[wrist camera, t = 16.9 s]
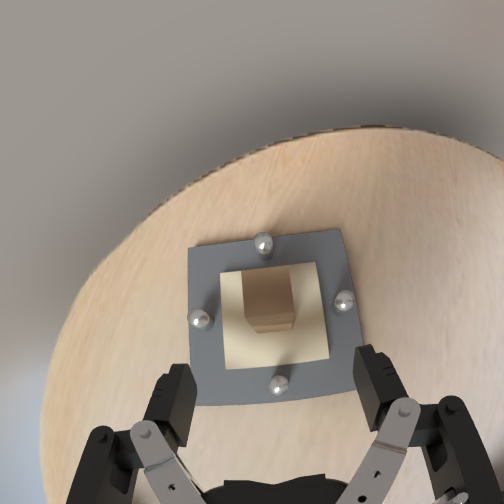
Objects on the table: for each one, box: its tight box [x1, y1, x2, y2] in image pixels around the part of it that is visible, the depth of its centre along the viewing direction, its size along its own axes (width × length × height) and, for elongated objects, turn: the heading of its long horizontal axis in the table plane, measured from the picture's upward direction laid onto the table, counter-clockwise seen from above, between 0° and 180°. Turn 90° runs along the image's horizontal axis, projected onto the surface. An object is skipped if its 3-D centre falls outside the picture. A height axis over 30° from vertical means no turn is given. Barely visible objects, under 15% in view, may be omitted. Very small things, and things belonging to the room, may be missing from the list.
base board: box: [188, 229, 363, 406], centre depth 26 cm, size 16×16×2 cm
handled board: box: [220, 262, 329, 369], centre depth 21 cm, size 9×9×9 cm
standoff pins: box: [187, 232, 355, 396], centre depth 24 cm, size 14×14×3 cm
